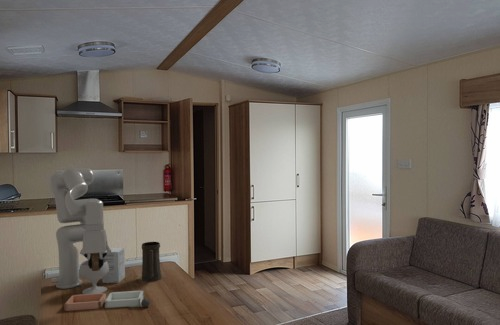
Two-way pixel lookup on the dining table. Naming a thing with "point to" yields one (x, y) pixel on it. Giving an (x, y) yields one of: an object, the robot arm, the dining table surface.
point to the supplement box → (115, 265)
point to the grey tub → (124, 299)
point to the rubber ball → (145, 302)
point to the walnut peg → (95, 261)
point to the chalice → (93, 277)
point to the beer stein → (150, 261)
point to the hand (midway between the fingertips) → (96, 267)
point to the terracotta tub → (85, 301)
